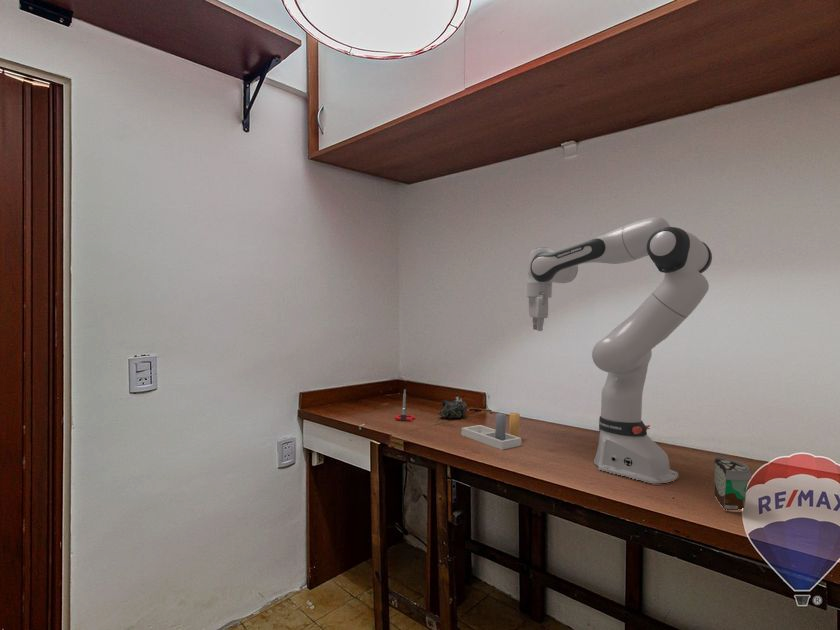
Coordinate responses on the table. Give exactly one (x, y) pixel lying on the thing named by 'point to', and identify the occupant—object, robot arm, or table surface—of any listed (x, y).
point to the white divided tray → (490, 437)
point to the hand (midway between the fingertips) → (537, 330)
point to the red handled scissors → (404, 411)
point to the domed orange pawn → (514, 424)
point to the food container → (730, 482)
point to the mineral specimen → (453, 408)
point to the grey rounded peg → (500, 426)
